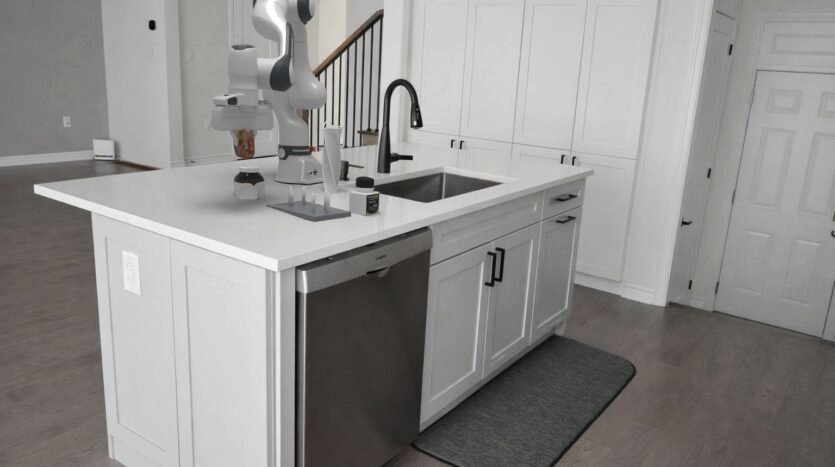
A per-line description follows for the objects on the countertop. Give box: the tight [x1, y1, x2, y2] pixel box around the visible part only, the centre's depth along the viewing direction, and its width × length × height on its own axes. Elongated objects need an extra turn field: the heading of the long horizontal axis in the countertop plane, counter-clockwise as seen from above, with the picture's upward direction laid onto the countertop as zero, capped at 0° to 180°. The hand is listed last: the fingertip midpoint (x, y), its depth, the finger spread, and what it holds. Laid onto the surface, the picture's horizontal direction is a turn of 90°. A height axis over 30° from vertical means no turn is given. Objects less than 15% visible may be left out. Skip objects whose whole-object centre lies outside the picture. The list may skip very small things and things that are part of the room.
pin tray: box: [265, 185, 352, 223], centre depth 201 cm, size 15×24×8 cm, turn 49°
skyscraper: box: [321, 120, 343, 195], centre depth 230 cm, size 8×8×28 cm
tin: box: [232, 130, 256, 160], centre depth 194 cm, size 15×3×8 cm, turn 31°
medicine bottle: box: [348, 175, 380, 217], centre depth 205 cm, size 7×7×12 cm
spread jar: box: [232, 165, 266, 201], centre depth 214 cm, size 12×11×12 cm
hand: (243, 145), depth 194 cm, fingers closed on tin, 3 cm apart
